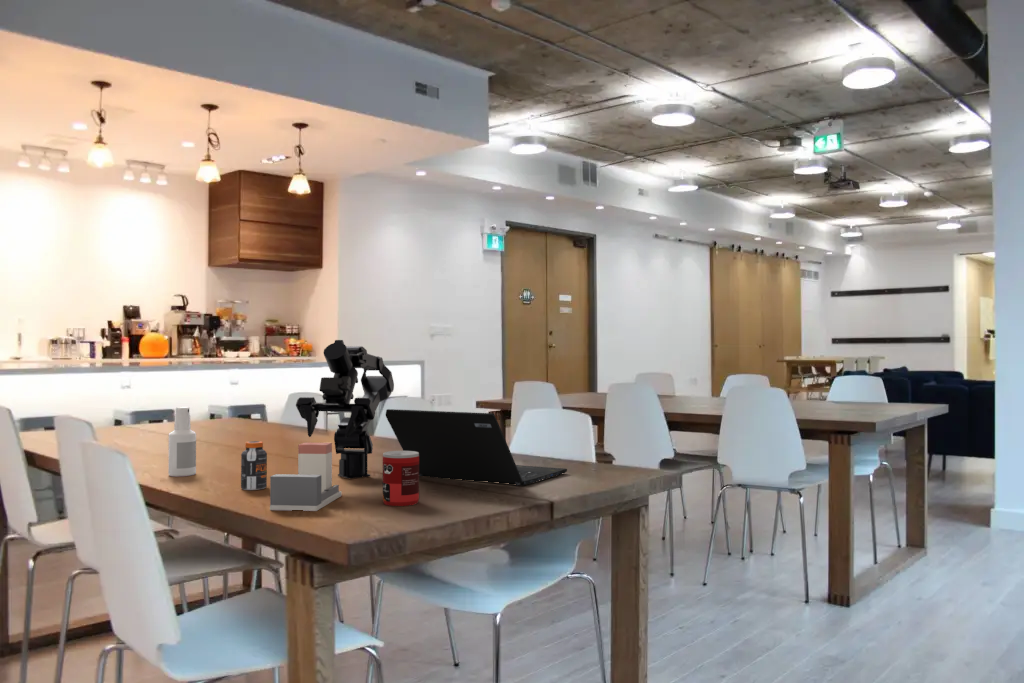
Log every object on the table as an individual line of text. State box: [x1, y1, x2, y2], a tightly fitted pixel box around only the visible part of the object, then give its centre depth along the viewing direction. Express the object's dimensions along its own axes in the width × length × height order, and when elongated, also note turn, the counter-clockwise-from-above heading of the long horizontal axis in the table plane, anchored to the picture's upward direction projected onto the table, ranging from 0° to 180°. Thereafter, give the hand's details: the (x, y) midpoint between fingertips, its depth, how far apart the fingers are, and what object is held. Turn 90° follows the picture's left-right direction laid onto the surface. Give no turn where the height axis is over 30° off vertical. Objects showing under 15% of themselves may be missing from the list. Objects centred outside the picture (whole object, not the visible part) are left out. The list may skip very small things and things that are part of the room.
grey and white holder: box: [269, 473, 343, 512], centre depth 174 cm, size 17×10×7 cm, turn 175°
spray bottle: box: [167, 406, 197, 478], centre depth 211 cm, size 7×7×18 cm
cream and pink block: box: [297, 442, 333, 492], centre depth 179 cm, size 4×6×11 cm, turn 85°
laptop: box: [385, 408, 568, 486], centre depth 206 cm, size 33×38×19 cm
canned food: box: [382, 450, 420, 507], centre depth 173 cm, size 8×8×11 cm
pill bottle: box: [240, 440, 268, 491], centre depth 191 cm, size 6×6×11 cm
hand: (327, 436), depth 189 cm, fingers open, 9 cm apart
